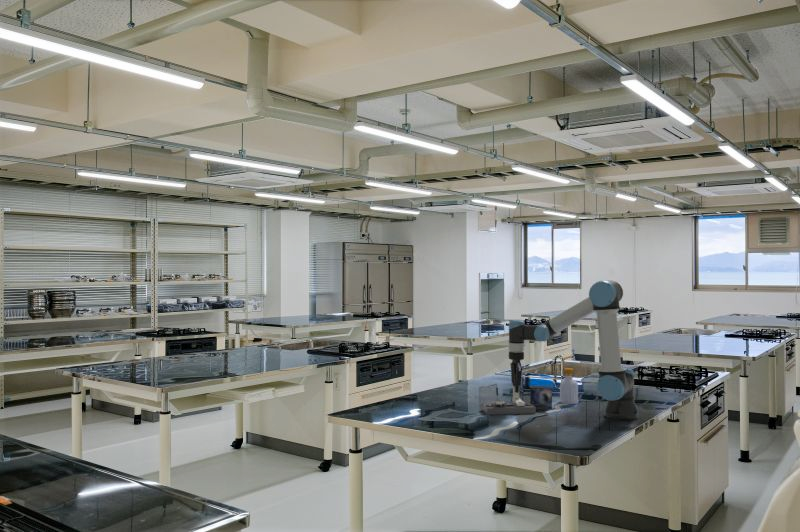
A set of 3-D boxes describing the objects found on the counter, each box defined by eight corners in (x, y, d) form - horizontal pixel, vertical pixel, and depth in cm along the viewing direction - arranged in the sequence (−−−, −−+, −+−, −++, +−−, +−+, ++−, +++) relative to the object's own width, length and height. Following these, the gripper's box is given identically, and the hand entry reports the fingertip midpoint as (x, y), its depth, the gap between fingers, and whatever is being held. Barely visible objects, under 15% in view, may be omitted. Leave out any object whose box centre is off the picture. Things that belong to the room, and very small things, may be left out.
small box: (530, 408, 314) (530, 387, 314) (530, 405, 320) (529, 385, 320) (552, 409, 312) (552, 388, 312) (551, 406, 319) (551, 385, 319)
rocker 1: (504, 403, 302) (504, 400, 302) (497, 403, 302) (496, 401, 302) (500, 403, 310) (500, 400, 310) (493, 403, 309) (493, 401, 310)
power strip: (551, 412, 303) (551, 403, 303) (487, 414, 300) (487, 405, 300) (544, 408, 313) (544, 399, 313) (482, 410, 310) (482, 400, 310)
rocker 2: (524, 405, 303) (524, 403, 303) (517, 406, 303) (517, 403, 303) (519, 400, 311) (519, 397, 311) (512, 400, 311) (512, 398, 311)
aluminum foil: (626, 382, 389) (626, 376, 389) (621, 383, 384) (621, 378, 384) (593, 378, 405) (593, 373, 405) (588, 379, 401) (587, 374, 401)
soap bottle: (578, 404, 321) (578, 357, 322) (560, 404, 323) (560, 356, 324) (577, 401, 330) (577, 354, 331) (559, 400, 332) (559, 354, 332)
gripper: (527, 353, 304) (527, 401, 304) (519, 349, 318) (519, 395, 318) (512, 353, 304) (512, 401, 304) (505, 349, 317) (505, 395, 317)
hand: (516, 398), depth 311 cm, fingers closed
